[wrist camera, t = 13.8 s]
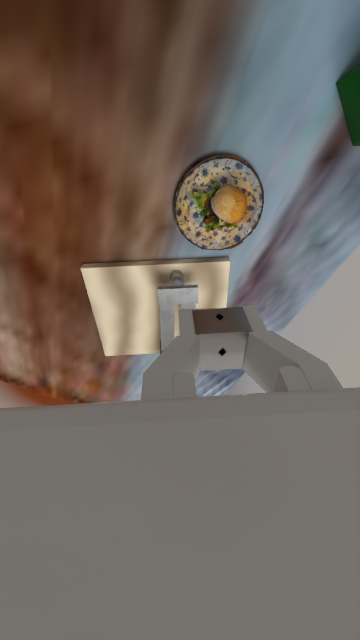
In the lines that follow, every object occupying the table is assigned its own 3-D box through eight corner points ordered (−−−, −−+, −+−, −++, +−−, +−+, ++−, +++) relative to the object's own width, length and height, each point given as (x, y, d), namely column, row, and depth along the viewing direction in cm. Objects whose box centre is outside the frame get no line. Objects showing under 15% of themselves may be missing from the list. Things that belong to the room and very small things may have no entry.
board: (106, 350, 51) (105, 355, 50) (83, 263, 40) (80, 268, 39) (220, 344, 51) (222, 349, 50) (228, 256, 40) (230, 261, 39)
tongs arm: (158, 291, 41) (158, 301, 39) (175, 291, 41) (176, 301, 39) (160, 351, 49) (160, 363, 47) (174, 351, 49) (175, 363, 47)
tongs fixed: (157, 270, 39) (157, 286, 36) (195, 269, 40) (198, 284, 36) (165, 350, 49) (165, 369, 46) (194, 349, 50) (197, 367, 46)
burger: (155, 197, 35) (154, 213, 29) (231, 129, 31) (247, 131, 25) (207, 262, 41) (214, 286, 35) (276, 212, 37) (297, 230, 31)
